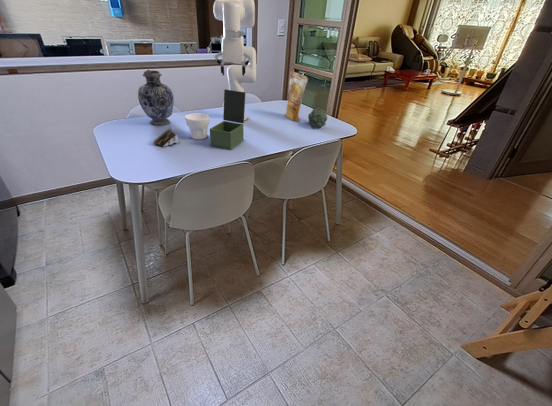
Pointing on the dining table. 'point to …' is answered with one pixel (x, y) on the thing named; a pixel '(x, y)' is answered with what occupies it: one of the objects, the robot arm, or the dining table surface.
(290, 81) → the pancake mix bag
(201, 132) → the cup
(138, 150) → the dining table surface
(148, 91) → the decorative vase
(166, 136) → the chocolate cake
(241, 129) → the bin
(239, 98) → the bin lid
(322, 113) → the vegetable
